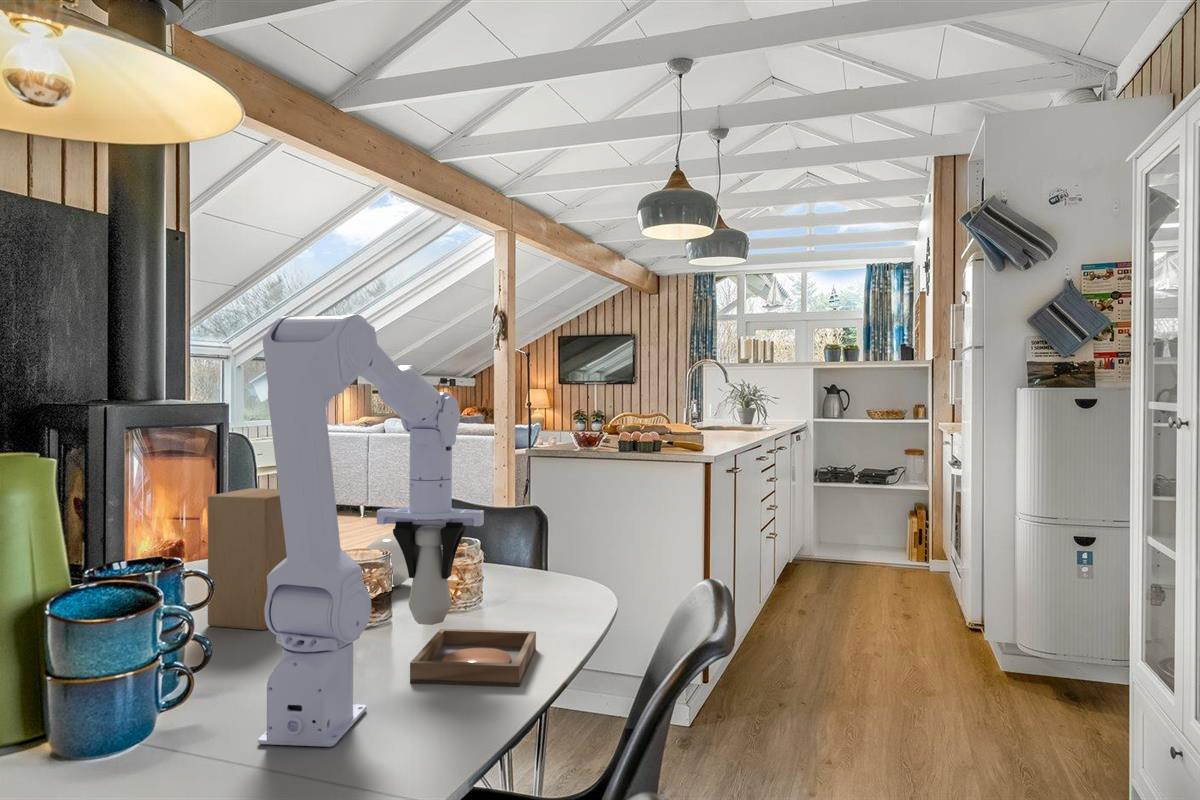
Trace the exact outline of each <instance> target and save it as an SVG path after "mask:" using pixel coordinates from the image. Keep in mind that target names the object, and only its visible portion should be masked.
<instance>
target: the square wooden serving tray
mask: <svg viewBox="0 0 1200 800" xmlns="http://www.w3.org/2000/svg"><path fill="white" fill-rule="evenodd" d="M536 645H537V631H534V630H533V631H531V630H530V631H528V630H527V631H526V630H525V631H524V630H497V629H496V630H494V629H491V630H489V629H459V628H458V629H452V628H439V630H438V631H437V632H436V633H435V634H434V635H433V636H432V638H431V639H430V640H429V641H428V642H427V643H426V644H425V646H424V647H422V649H421V650H420V651H419V652H418V653H417V654H416V656H415V657H414V658H413V659H412V660H411V661H410V662H409V683H410V684H423V685H424V684H430V685H434V684H435V685H460V686H462V685H463V686H487V687H488V686H492V687H517V688H518V687H520V686H521V684H522V681H523V679H524V676H525V674H526V672H527V670H528V667H529V665H530V663H531V660H532V659H533V656H534V654H535V652H536V650H537V646H536ZM469 648H494V649H499V650H502V651H505V652H507V653H508V654H510V656H511V663H510V664H509V663H476V662H443V661H442V659H443V658H444V657H445V656H446V655H448V654H450V653H452V652H455V651H458V650H463V649H469Z"/></svg>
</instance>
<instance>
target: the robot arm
mask: <svg viewBox="0 0 1200 800" xmlns="http://www.w3.org/2000/svg"><path fill="white" fill-rule="evenodd" d="M377 339H378V338H377V333H376V327H374V326H373V325H371V324H370V323H369V322H368V321H367V319H366V318H364V317H363V315H361V314H358V313H352V314H351V313H349V314H347V315H329V316H328V315H327V316H326V315H325V316H322V315H321V316H295V315H293V316H292V315H283V316H280V317H279V318H277V319H276V320H275V321H274V322H273V324H272V326H271V327H270V328H269V330H268V331H267V332H266V334H265V335H264V337H262V347H263V355H264V361H265V362H264V364H265V371H266V381H267V399H268V400H267V401H268V410H269V416H270V418H269V419H270V427H271V428H270V429H271V434H272V442H273V451H274V458H275V469H276V476H277V485H278V489H279V494H280V503H281V511H282V519H283V528H284V536H285V545H286V553H287V557H286V558H285V559H284V560H283V561H282V562H280V563H279V564H278V565H277V566H276V567H275V568H274V569H273V570H272V571H271V572H270V573H269V574H268V576H267V587H268V592H267V599H266V602H265V610H264V612H265V621H266V625H267V627H268V630H269V631H270V632H271V633H272V634H274V635H275V638H276V639H275V641H276V643H275V644H277V645H280V646H281V647H282V649H281V656H280V657H281V658H280V661H279V663H278V664H277V666H276V667H274V669H273V671H272V672H271V673H270V675H269V676H268V680H267V684H266V731H265V732H264V733H263V734H262V735H261V736H260V737H258V739H257V743H258V744H259V745H275V746H276V745H279V746H302V747H305V746H306V747H333V746H335V745H336V744H337V743H339V741H340V739H341V738H342V737H343V736H344V735H346V733H347V732H348V730H350V729H351V727H353V725H354V724H355V723H356V722H357V721H358V720H359V718H361V716H362V715H363V714H364V713H365V712H366V711H367V705H366V704H358V703H357V704H356V703H355V704H354V642H355V641H357V640H359V639H360V637H361V635H362V634H363V633H364V631H365V630H366V628H367V626H368V624H369V621H370V618H371V613H372V600H371V598H370V595H369V592H368V589H367V587H366V586H365V584H364V581H363V575H362V568H361V566H360V564H358V562H356V561H355V560H354V558H352V557H351V556H349V555H348V554H347V553H346V552H345V551H344V550H343V549H342V547H341V540H340V530H339V529H340V528H339V521H338V520H339V519H338V511H337V502H336V500H337V499H336V492H335V483H334V475H333V473H334V472H333V464H332V456H331V455H332V453H331V446H330V437H329V429H328V428H329V427H328V426H329V425H328V417H327V406H328V404H329V403H330V402H331V401H332V399H333V398H334V397H335V396H337V395H340V394H341V393H343V392H344V391H345V390H346V389H347V388H348V387H350V385H351V384H353V383H354V382H355V381H356V380H357V379H358V378H359V377H361V378H363V379H364V380H366V381H367V382H369V383H371V385H374V386H375V387H377V388H378V389H377V392H378V397H379V398H380V400H381V402H382V403H383V404H384V405H386V406H387V407H389V408H390V409H391V410H392V411H394V413H396V414H397V416H398V417H399V418H400V422H401V424H402V428H403V429H404V431H405V432H408V433H409V489H408V491H409V492H408V493H409V496H408V497H409V498H408V499H409V500H408V501H409V505H408V506H409V507H404V508H403V507H401V508H400V507H399V508H397V507H396V508H380V509H378V510H376V525H381V526H382V525H386V524H387V525H391V524H393V525H394V528H393V529H392V534H393V535H392V536H394V537H395V538H396V540H397V542H398V544H399V546H400V548H401V550H402V552H403V555H404V558H405V561H406V565H407V569H408V574H409V579H413V578H414V577H415V565H416V560H417V554H418V549H419V545H416V543H415V537H414V536H415V531H416V530H417V529H418V528H420V527H422V525H430V526H439V525H443V528H442V529H441V539H442V551H443V561H442V579H447V580H448V579H449V578H450V577H451V576H452V571H453V565H454V562H455V558H456V554H457V552H458V551H457V550H458V547H459V545H460V543H461V540H462V538H463V537H464V534H465V532H466V531H467V528H468V526H473V527H482V526H483V525H484V524H485V523H484V522H485V521H484V520H485V516H484V515H485V510H484V509H483V510H481V509H466V508H465V509H462V508H452V506H453V505H452V491H453V490H452V489H453V488H452V487H453V486H452V484H453V482H452V479H453V446H454V445H455V444H456V441H457V431H458V428H459V424H460V421H461V419H460V418H461V411H460V406H459V402H458V400H457V398H456V397H455V396H453V395H452V394H450V393H449V392H446V391H445V392H442V391H438V389H436V388H435V387H434V385H433V383H431V382H429V381H428V380H427V379H425V378H424V377H423V376H422V375H421V374H420V373H419V372H418V368H417V367H415V365H413V364H412V365H407V364H406V365H405V364H404V365H403V364H401V365H398V364H396V362H395V361H394V360H393V359H392V358H391V357H390V356H389V354H387V353H386V351H385V350H384V349H383V348H382V347H381V346H380V345H379V344H378V340H377Z"/></svg>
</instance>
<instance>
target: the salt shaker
mask: <svg viewBox="0 0 1200 800" xmlns="http://www.w3.org/2000/svg"><path fill="white" fill-rule="evenodd" d="M443 527H444V526H443ZM443 527H442V526H439V525H425V526H424V525H423V526H421V527H420V528H418V529H417V530H416V531H415V536H414V537H415V543H416V545H419V546H418V554H417V560H416V565H415V577H414V578H412V581H411V587H410V588H411V589H410V593H409V599H408V607H409V609H410V610H409V611H410V612H411V614H412V617H413V619H414V621H415V622H416V623H417V624H419V625H428V626H433V625H437V624H440V623H444V621H445V619H446V616H447V615H448V613H449V611H450V608H451V607H452V598H451V592H450V587H449V582H448V579H442V561H443V551H442V539H441V529H442V528H443Z"/></svg>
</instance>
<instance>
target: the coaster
mask: <svg viewBox="0 0 1200 800" xmlns="http://www.w3.org/2000/svg"><path fill="white" fill-rule="evenodd" d="M442 661H443V662H476V663H509V664H510V663H511V656H510V654H508V653H507V652H505V651H502V650H499V649H494V648H469V649H463V650H458V651H455V652H452V653H450V654H448V655H446V656H445V657H444V658H443V659H442Z"/></svg>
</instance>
